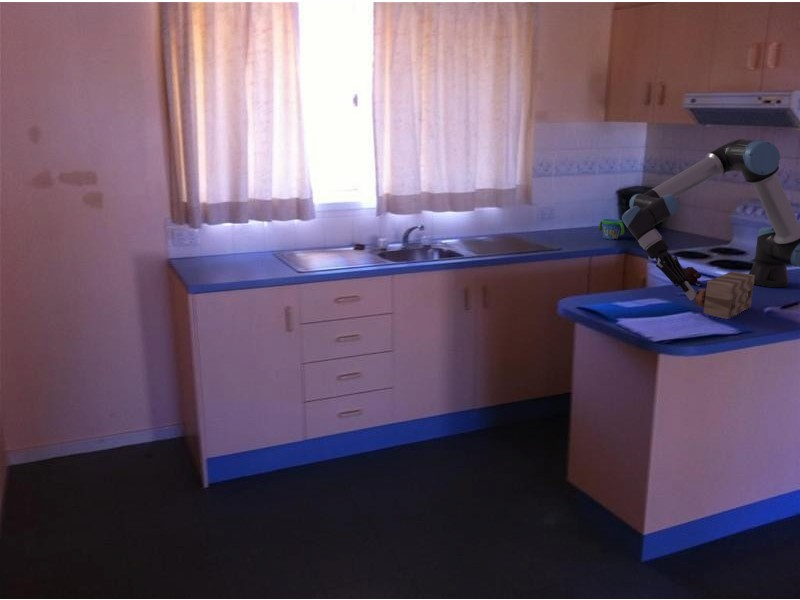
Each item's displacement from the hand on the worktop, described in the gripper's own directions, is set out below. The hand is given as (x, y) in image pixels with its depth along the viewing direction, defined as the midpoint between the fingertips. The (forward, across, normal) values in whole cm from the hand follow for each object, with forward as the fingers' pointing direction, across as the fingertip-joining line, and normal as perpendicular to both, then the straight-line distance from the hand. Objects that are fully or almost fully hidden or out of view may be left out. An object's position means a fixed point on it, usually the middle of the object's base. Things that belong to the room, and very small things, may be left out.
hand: (694, 298), depth 250 cm
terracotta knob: (+6, 0, +3) cm, 7 cm away
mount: (+10, -7, +3) cm, 12 cm away
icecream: (-10, -39, -16) cm, 44 cm away
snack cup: (-61, -108, -68) cm, 141 cm away
